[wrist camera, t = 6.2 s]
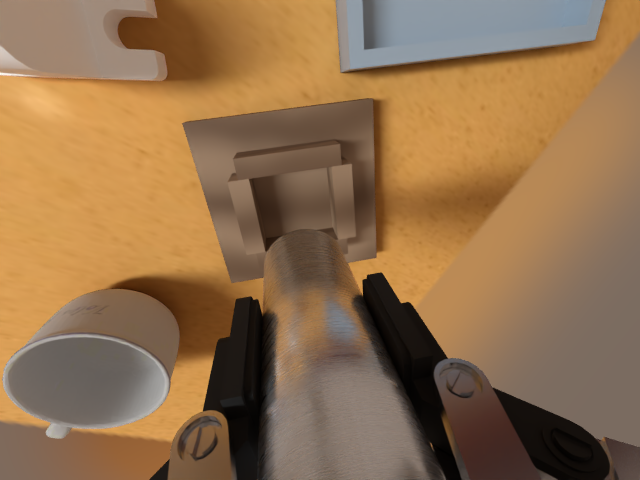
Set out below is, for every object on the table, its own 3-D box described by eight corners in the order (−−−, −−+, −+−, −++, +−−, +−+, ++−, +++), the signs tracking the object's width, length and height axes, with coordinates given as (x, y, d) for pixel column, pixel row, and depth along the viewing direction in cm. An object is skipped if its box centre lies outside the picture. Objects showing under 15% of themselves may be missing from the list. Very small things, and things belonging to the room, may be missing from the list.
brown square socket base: (187, 121, 22) (171, 126, 18) (367, 98, 23) (384, 98, 19) (233, 274, 28) (228, 299, 25) (371, 250, 29) (385, 271, 26)
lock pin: (256, 236, 13) (205, 796, 3) (340, 222, 14) (584, 670, 3) (272, 303, 15) (278, 787, 5) (346, 289, 15) (509, 709, 5)
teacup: (119, 251, 26) (60, 311, 18) (214, 317, 30) (196, 385, 23) (27, 337, 28) (-56, 419, 21) (127, 386, 33) (87, 466, 26)
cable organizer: (-30, -28, 17) (-367, -166, 8) (151, -14, 18) (37, -119, 9) (11, 76, 19) (-214, 59, 10) (169, 81, 21) (91, 69, 12)
